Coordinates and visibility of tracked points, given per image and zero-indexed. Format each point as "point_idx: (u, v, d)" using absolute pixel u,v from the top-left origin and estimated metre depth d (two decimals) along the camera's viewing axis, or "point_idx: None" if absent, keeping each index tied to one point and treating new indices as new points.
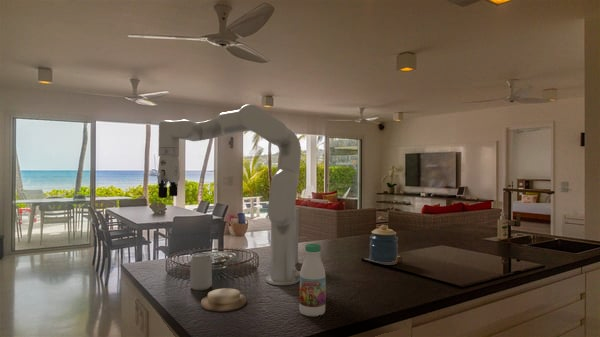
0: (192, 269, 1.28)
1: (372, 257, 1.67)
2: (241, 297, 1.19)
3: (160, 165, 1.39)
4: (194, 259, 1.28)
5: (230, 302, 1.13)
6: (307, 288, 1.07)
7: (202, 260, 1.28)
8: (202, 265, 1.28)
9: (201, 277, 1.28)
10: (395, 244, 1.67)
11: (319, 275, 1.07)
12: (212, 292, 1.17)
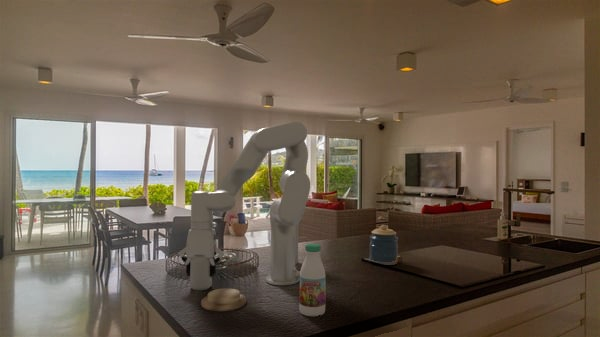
0: (192, 269, 1.28)
1: (372, 257, 1.67)
2: (241, 297, 1.19)
3: (213, 240, 1.30)
4: (194, 259, 1.28)
5: (230, 302, 1.13)
6: (307, 288, 1.07)
7: (202, 260, 1.28)
8: (202, 265, 1.28)
9: (201, 277, 1.28)
10: (395, 244, 1.67)
11: (319, 275, 1.07)
12: (212, 292, 1.17)
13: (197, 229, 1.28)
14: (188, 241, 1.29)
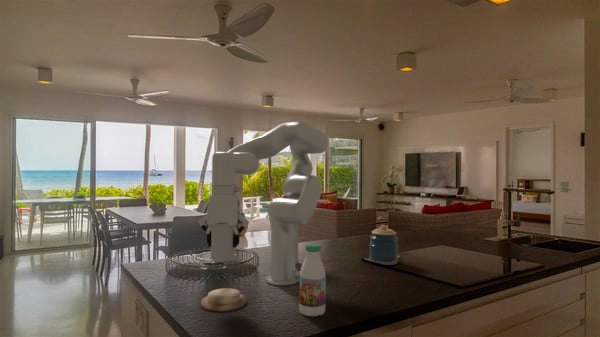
0: (213, 238, 1.15)
1: (372, 257, 1.67)
2: (241, 297, 1.19)
3: (237, 207, 1.16)
4: (216, 227, 1.15)
5: (230, 302, 1.13)
6: (307, 288, 1.07)
7: (225, 228, 1.14)
8: (225, 234, 1.14)
9: (223, 247, 1.14)
10: (395, 244, 1.67)
11: (319, 275, 1.07)
12: (212, 292, 1.17)
13: (219, 193, 1.14)
14: (209, 207, 1.16)
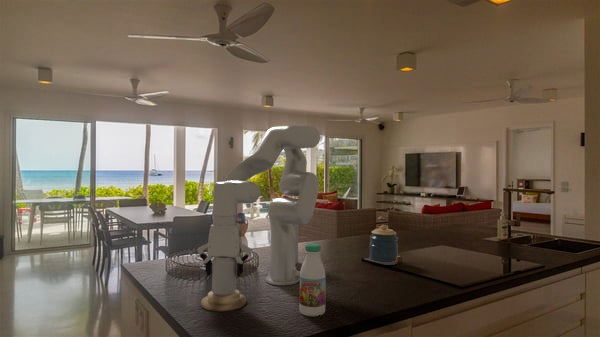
0: (215, 272, 1.14)
1: (372, 257, 1.67)
2: (241, 297, 1.19)
3: (239, 237, 1.15)
4: (217, 261, 1.14)
5: (230, 302, 1.13)
6: (307, 288, 1.07)
7: (226, 262, 1.14)
8: (226, 268, 1.13)
9: (225, 281, 1.13)
10: (395, 244, 1.67)
11: (319, 275, 1.07)
12: (212, 292, 1.17)
13: (221, 224, 1.13)
14: (210, 238, 1.15)
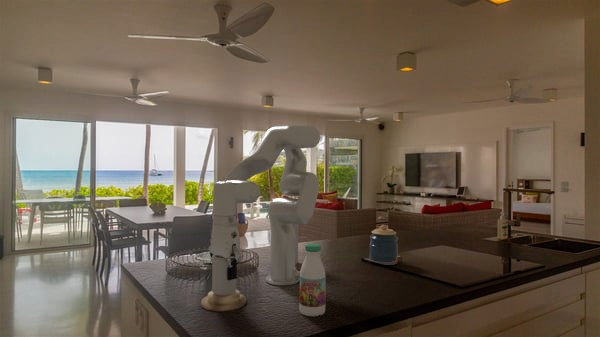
0: (215, 272, 1.14)
1: (372, 257, 1.67)
2: (241, 297, 1.19)
3: (230, 238, 1.13)
4: (217, 261, 1.14)
5: (230, 302, 1.13)
6: (307, 288, 1.07)
7: (226, 262, 1.14)
8: (226, 268, 1.13)
9: (225, 281, 1.13)
10: (395, 244, 1.67)
11: (319, 275, 1.07)
12: (212, 292, 1.17)
13: (214, 223, 1.14)
14: (211, 236, 1.18)
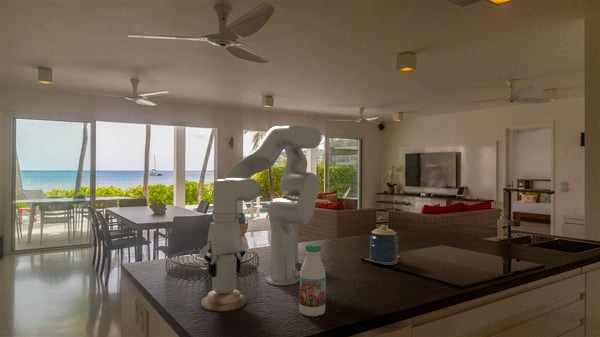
0: None
1: (372, 257, 1.67)
2: (241, 297, 1.19)
3: None
4: None
5: (230, 302, 1.13)
6: (307, 288, 1.07)
7: None
8: None
9: None
10: (396, 244, 1.67)
11: (319, 275, 1.07)
12: (212, 292, 1.17)
13: (229, 221, 1.14)
14: (216, 237, 1.13)
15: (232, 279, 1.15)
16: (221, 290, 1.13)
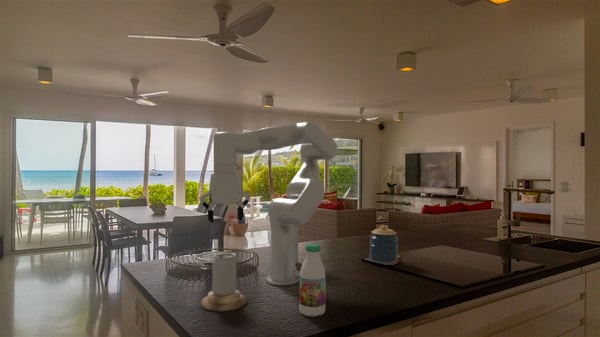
0: None
1: (372, 257, 1.67)
2: (241, 297, 1.19)
3: (240, 184, 1.24)
4: None
5: (230, 302, 1.13)
6: (307, 288, 1.07)
7: None
8: None
9: None
10: (395, 244, 1.67)
11: (319, 275, 1.07)
12: (212, 292, 1.17)
13: (227, 171, 1.19)
14: (215, 186, 1.19)
15: (232, 282, 1.15)
16: (221, 293, 1.13)
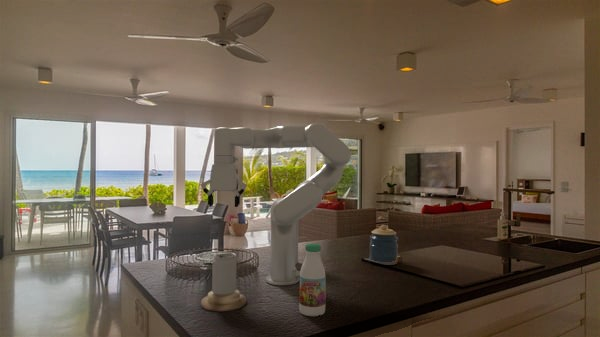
0: None
1: (372, 257, 1.67)
2: (241, 297, 1.19)
3: (236, 174, 1.37)
4: None
5: (230, 302, 1.13)
6: (307, 288, 1.07)
7: None
8: None
9: None
10: (395, 244, 1.67)
11: (319, 275, 1.07)
12: (212, 292, 1.17)
13: (221, 162, 1.35)
14: (212, 174, 1.36)
15: (232, 282, 1.15)
16: (221, 293, 1.13)
